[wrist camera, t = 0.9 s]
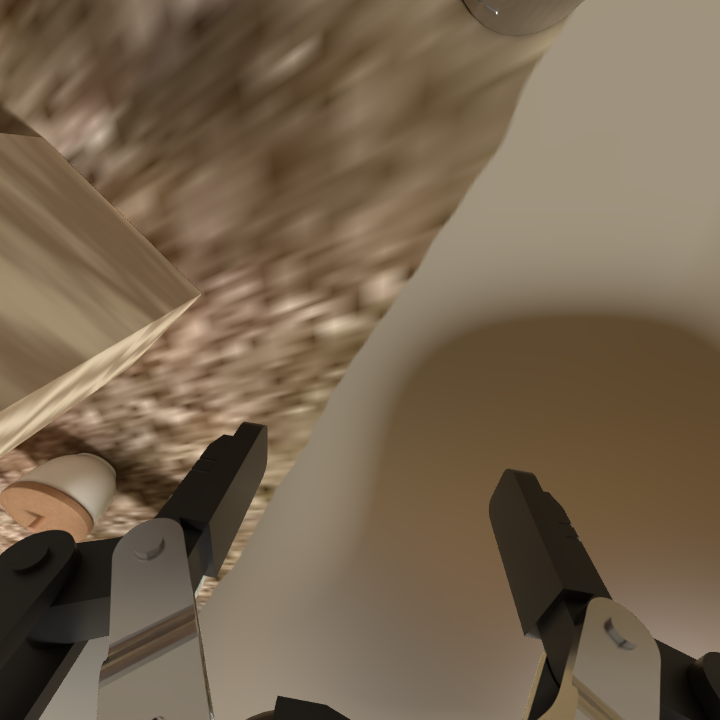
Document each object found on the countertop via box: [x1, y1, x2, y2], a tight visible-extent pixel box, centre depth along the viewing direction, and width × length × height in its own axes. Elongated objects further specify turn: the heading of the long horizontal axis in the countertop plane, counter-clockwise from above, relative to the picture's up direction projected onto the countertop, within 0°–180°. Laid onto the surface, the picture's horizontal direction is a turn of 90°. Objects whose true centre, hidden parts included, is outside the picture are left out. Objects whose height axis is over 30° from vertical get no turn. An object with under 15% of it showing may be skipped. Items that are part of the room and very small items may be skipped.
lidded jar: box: [0, 453, 116, 542], centre depth 42 cm, size 11×11×9 cm
